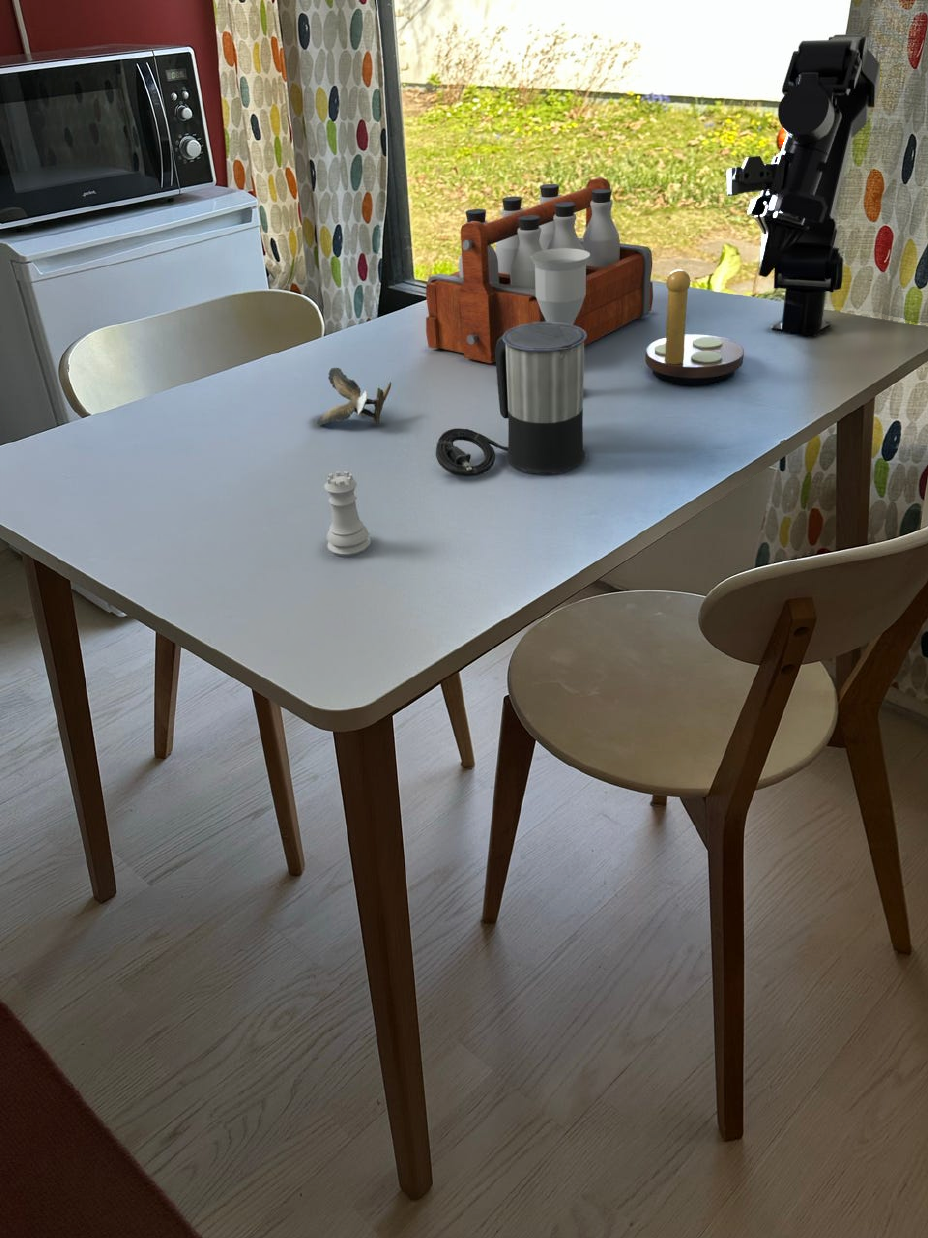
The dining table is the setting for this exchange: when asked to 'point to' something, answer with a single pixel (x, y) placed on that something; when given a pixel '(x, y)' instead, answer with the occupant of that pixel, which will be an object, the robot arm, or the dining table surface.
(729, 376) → the holder base
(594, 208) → the milk bottle holder
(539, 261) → the chalice
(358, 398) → the eagle figurine
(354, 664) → the dining table surface
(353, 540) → the rook chess piece
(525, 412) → the milk frother
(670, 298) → the joystick with buttons
